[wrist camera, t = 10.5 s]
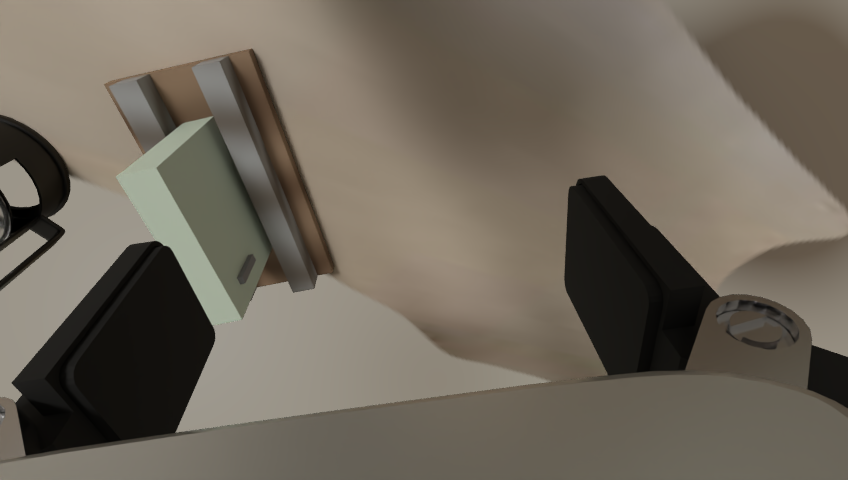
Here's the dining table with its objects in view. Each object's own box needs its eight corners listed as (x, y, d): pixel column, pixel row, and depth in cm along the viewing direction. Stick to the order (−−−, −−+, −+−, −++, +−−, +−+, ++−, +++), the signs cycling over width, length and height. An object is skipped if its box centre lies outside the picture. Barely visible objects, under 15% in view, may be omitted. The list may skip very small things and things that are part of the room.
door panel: (183, 123, 35) (115, 176, 27) (218, 114, 35) (162, 166, 27) (247, 250, 42) (209, 326, 33) (277, 243, 41) (247, 318, 33)
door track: (111, 80, 34) (88, 91, 32) (252, 48, 34) (240, 56, 31) (225, 287, 45) (214, 307, 42) (334, 266, 44) (330, 285, 42)
